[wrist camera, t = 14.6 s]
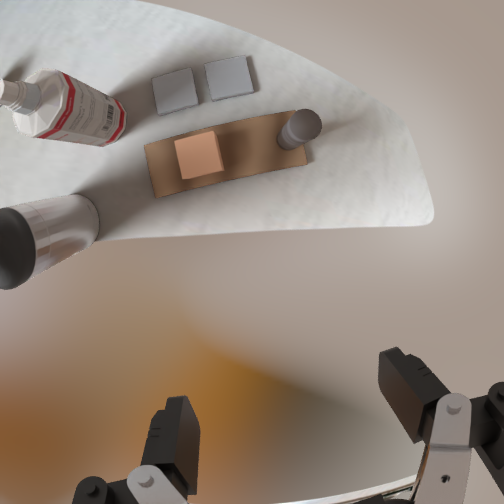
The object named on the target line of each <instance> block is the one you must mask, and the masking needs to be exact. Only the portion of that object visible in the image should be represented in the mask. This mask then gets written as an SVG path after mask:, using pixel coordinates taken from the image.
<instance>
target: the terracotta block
mask: <svg viewBox="0 0 504 504" xmlns="http://www.w3.org/2000/svg"><path fill="white" fill-rule="evenodd" d="M174 143H175V147H176V152H177V157H178V161H179V166H180V170H181V175H182V179H190V178H194V177H198V176H202V175H207V174H211V173H215V172H219V171H224V166H223V162H222V157H221V153H220V148H219V144H218V139H217V136H216V134H215V133H214V131H210V132H206V133H202V134H198V135H194V136H190V137H187V138H183V139H179V140H176V141H174Z"/></svg>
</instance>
